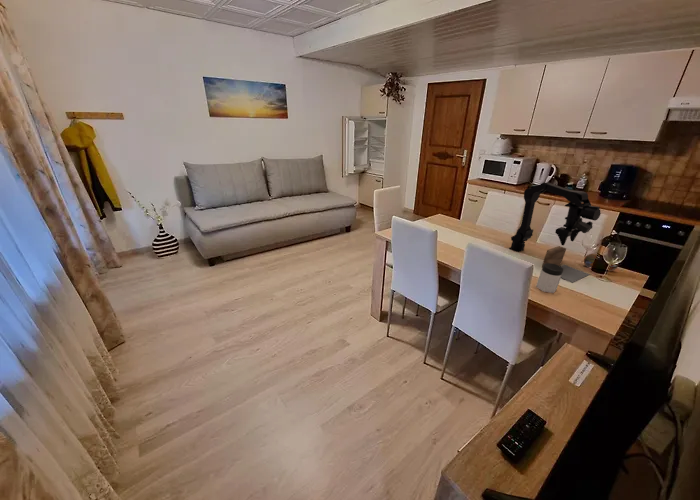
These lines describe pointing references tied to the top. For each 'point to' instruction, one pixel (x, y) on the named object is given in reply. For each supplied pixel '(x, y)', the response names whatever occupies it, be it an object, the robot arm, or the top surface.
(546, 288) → the jar
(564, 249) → the block
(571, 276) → the mat
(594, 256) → the tin
